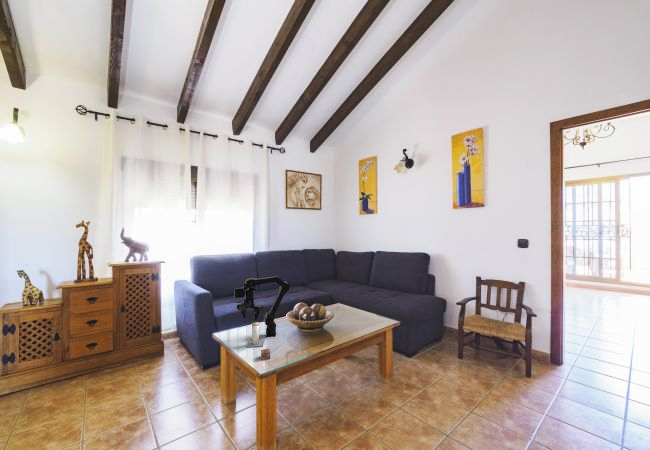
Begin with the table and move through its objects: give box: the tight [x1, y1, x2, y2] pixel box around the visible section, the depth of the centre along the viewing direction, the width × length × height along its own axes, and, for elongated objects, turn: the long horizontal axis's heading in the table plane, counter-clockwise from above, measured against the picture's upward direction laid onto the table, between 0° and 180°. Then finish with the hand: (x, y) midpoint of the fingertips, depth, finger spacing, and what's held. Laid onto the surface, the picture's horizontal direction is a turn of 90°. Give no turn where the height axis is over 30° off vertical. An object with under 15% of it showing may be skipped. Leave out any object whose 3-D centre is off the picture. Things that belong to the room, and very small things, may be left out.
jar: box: [251, 321, 260, 345], centre depth 181 cm, size 5×5×13 cm
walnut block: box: [260, 348, 271, 361], centre depth 162 cm, size 5×5×4 cm
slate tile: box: [246, 338, 266, 348], centre depth 181 cm, size 10×10×1 cm
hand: (250, 319), depth 191 cm, fingers open, 9 cm apart
